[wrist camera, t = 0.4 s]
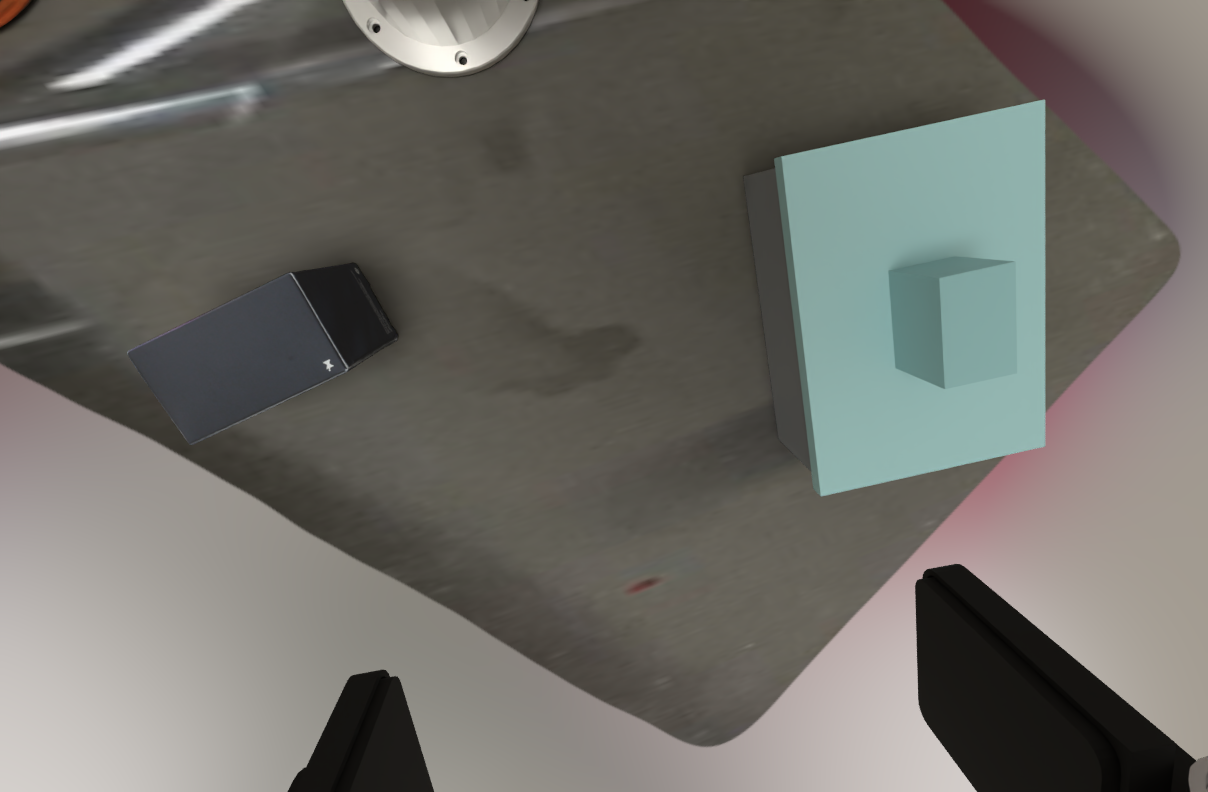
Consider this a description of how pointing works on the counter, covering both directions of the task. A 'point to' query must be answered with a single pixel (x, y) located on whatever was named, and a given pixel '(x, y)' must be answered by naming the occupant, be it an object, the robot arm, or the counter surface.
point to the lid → (919, 295)
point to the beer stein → (11, 9)
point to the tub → (777, 310)
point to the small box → (263, 348)
